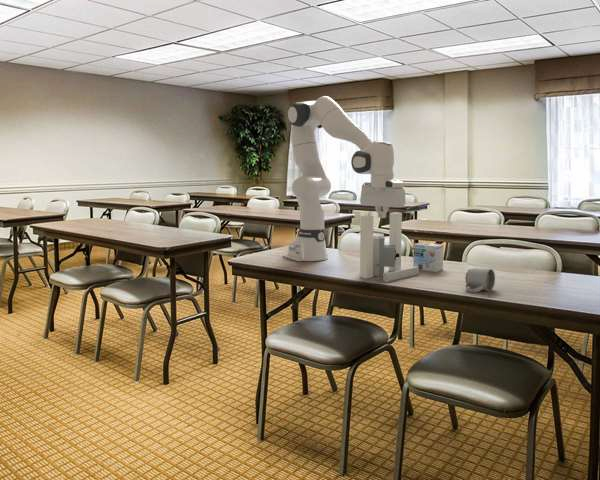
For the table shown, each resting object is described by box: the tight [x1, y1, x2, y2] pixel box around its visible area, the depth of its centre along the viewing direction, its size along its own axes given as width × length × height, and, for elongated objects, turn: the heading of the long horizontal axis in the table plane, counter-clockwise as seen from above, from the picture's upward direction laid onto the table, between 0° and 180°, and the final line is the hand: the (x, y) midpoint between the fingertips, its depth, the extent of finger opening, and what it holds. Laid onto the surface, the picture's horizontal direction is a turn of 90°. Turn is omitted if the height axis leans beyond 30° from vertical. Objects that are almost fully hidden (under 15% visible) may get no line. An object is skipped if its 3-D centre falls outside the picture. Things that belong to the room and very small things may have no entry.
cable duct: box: [382, 266, 420, 283], centre depth 207 cm, size 2×20×3 cm, turn 132°
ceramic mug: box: [465, 267, 496, 294], centre depth 185 cm, size 11×8×8 cm
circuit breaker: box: [373, 235, 399, 277], centre depth 213 cm, size 8×14×15 cm, turn 78°
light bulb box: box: [412, 241, 445, 273], centre depth 222 cm, size 11×7×11 cm, turn 47°
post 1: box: [359, 215, 374, 279], centre depth 206 cm, size 4×4×24 cm
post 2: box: [388, 211, 403, 272], centre depth 218 cm, size 4×4×24 cm
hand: (381, 217), depth 211 cm, fingers closed
